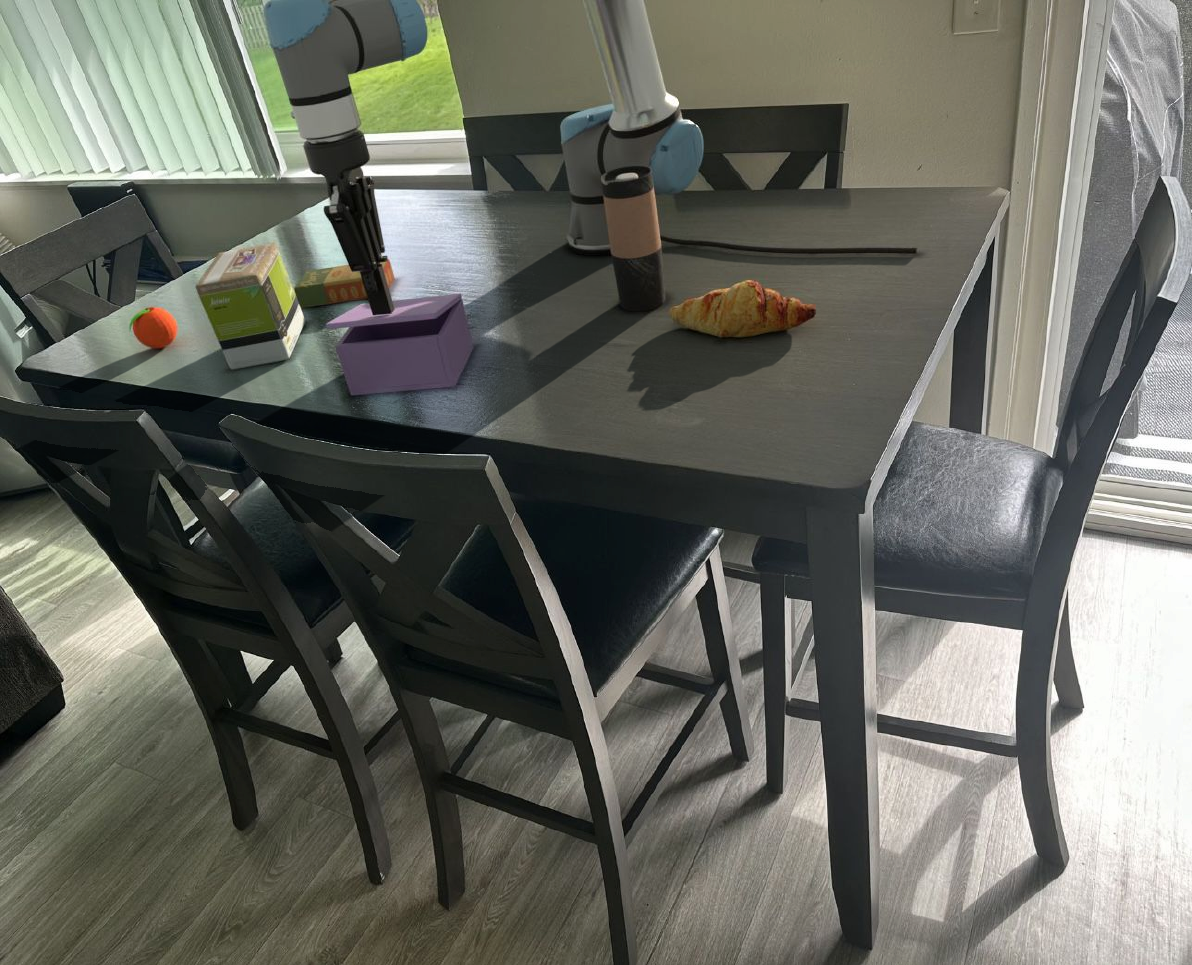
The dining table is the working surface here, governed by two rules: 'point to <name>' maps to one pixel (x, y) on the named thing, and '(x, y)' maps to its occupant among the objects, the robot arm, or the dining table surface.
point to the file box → (406, 353)
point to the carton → (334, 285)
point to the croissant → (742, 311)
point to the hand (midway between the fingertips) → (383, 312)
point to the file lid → (397, 312)
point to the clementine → (154, 327)
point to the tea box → (251, 305)
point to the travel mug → (634, 237)
